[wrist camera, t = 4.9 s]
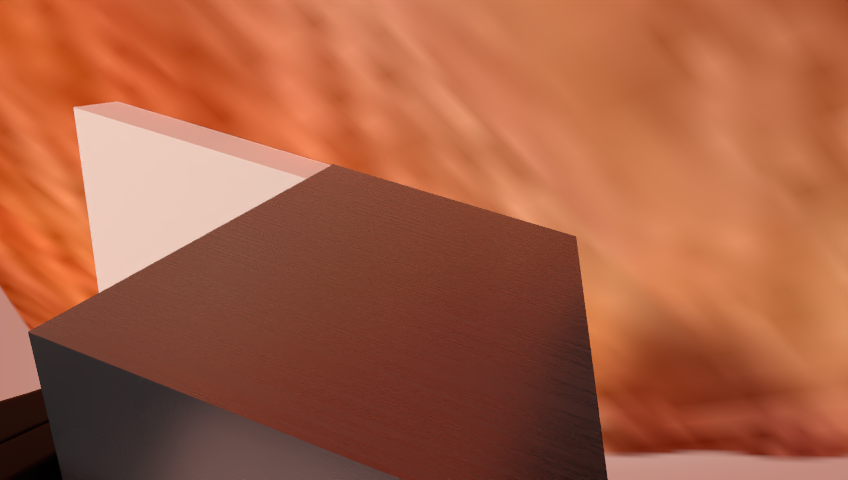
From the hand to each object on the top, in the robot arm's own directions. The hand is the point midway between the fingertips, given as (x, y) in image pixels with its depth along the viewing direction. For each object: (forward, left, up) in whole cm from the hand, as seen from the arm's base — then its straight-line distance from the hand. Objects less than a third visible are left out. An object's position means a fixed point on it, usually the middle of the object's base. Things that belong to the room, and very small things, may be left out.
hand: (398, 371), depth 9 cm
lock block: (0, 0, -1) cm, 1 cm away
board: (+13, +8, -13) cm, 20 cm away
